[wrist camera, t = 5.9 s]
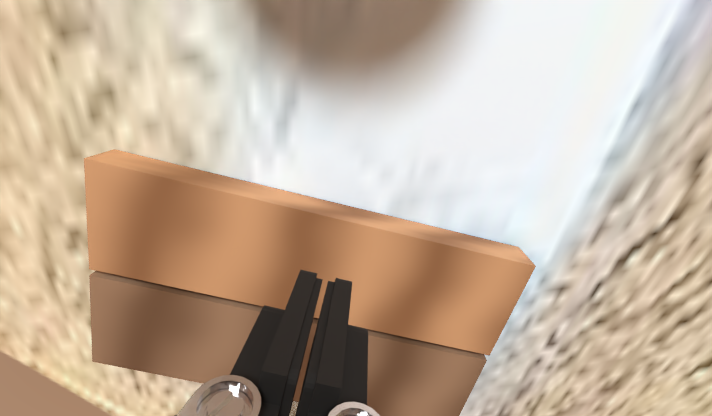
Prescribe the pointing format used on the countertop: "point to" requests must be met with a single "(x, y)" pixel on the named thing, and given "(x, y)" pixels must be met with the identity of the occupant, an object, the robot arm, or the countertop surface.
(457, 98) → the countertop surface
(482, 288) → the chestnut plank
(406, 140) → the countertop surface
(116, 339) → the walnut board
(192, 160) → the countertop surface
